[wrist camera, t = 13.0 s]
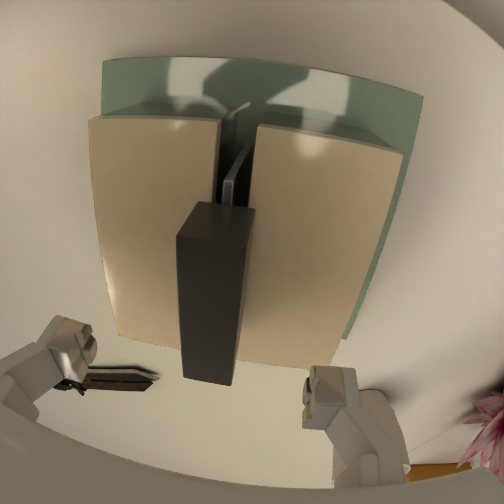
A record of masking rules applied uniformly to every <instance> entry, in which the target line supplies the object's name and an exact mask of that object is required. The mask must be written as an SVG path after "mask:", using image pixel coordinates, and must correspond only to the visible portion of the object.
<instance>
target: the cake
mask: <svg viewBox="0 0 504 504" xmlns="http://www.w3.org/2000/svg"><path fill="white" fill-rule="evenodd" d="M423 98H424V97H423V96H421V95H418V94H415V93H412V92H409V91H406V90H402V89H399V88H396V87H393V86H389V85H386V84H382V83H378V82H375V81H371V80H367V79H363V78H359V77H355V76H350V75H346V74H342V73H337V72H332V71H327V70H322V69H316V68H311V67H305V66H299V65H292V64H285V63H278V62H270V61H261V60H251V59H239V58H224V57H198V56H166V57H141V58H126V59H115V60H105V61H103V68H102V100H101V115H99V116H96V117H93V118H90V119H88V128H89V152H90V167H91V179H92V190H93V199H94V208H95V216H96V224H97V231H98V238H99V244H100V250H101V256H102V262H103V267H104V273H105V278H106V283H107V288H108V292H109V297H110V302H111V306H112V310H113V315H114V319H115V323H116V327H117V331H118V335H119V336H122V337H126V338H130V339H134V340H138V341H142V342H147V343H151V344H155V345H160V346H164V347H169V348H174V349H178V350H181V343H180V329H179V313H178V294H177V270H176V235H177V233H178V232H179V230H180V228H181V227H182V225H183V224H184V222H185V220H186V219H187V217H188V216H189V214H190V213H191V211H192V210H193V208H194V207H195V205H196V203H197V202H198V201H203V202H210V203H218V204H222V196H223V183H224V179H225V177H226V176H227V174H228V172H229V171H230V169H231V167H232V165H233V164H234V162H235V160H236V159H237V157H238V155H239V154H240V152H241V150H242V148H243V147H244V145H245V143H251V144H252V150H251V158H250V167H249V176H248V185H247V194H246V203H245V207H248V208H254V209H255V210H256V213H255V221H254V229H253V237H252V245H251V253H250V261H249V268H248V276H247V284H246V292H245V300H244V308H243V316H242V324H241V332H240V340H239V347H238V352H237V358H236V360H239V361H245V362H252V363H259V364H267V365H274V366H282V367H291V368H300V369H311V367H312V366H313V365H319V366H329V365H330V362H331V360H332V358H333V356H334V354H335V351H336V349H337V347H338V345H339V342H340V340H341V339H347V337H348V334H349V332H350V330H351V328H352V325H353V323H354V321H355V318H356V316H357V314H358V311H359V309H360V306H361V304H362V302H363V299H364V297H365V294H366V292H367V289H368V286H369V284H370V281H371V279H372V276H373V273H374V271H375V268H376V265H377V263H378V260H379V257H380V254H381V252H382V249H383V246H384V243H385V240H386V237H387V234H388V231H389V228H390V225H391V222H392V219H393V216H394V213H395V209H396V206H397V203H398V200H399V196H400V193H401V189H402V186H403V182H404V179H405V175H406V171H407V168H408V164H409V160H410V156H411V152H412V148H413V144H414V140H415V136H416V131H417V127H418V122H419V118H420V113H421V108H422V103H423Z"/></svg>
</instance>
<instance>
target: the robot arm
mask: <svg viewBox="0 0 504 504" xmlns="http://www.w3.org/2000/svg"><path fill="white" fill-rule="evenodd" d="M92 332H93V331H92V328H91V325H88V324H85V323H82V322H79V321H75V320H72V319H69V318H66V317H63V316H60V315H57V316H55V317H54V318H53V319H52V321H51V322H50V323H49V325H48V326H47V328H46V329H45V330H44V332H43V333H42V335H41V336H40V338H39V339H38V341H37V342H36V343H34V342H33V343H31V344H29V345H27V346H25V347H23V348H21V349H19V350H18V351H16V352H14V353H12V354H10V355H8V356H6V357H4V358H3V359H1V360H0V504H504V483H503V482H502V481H501V480H500V479H499V478H498V477H497V476H496V475H495V474H494V473H493V472H492V471H491V470H489V469H488V468H486V467H478V468H474V469H470V470H466V471H462V472H458V473H454V474H450V475H445V476H441V477H436V478H430V479H425V480H419V481H413V482H406V483H405V474H404V466H403V459H402V452H401V450H400V448H399V447H398V446H397V445H396V444H395V443H394V441H393V440H392V439H391V438H390V437H389V435H388V434H387V433H386V432H385V431H384V430H383V428H382V427H381V426H380V425H379V424H378V422H377V421H376V420H375V419H374V418H373V416H372V415H371V414H370V413H369V412H368V411H367V409H366V408H365V407H361V405H360V398H359V390H358V383H357V376H356V370H355V369H354V368H344V367H334V366H319V365H313V366H312V367H311V369H310V377H308V378H306V381H305V384H304V388H303V398H302V402H303V404H304V405H305V408H304V410H303V412H302V428H304V429H317V430H325V432H326V434H327V436H328V437H329V439H330V440H331V442H332V444H333V445H334V447H335V449H336V450H337V452H338V453H339V455H340V457H341V458H342V460H343V461H344V463H345V465H346V466H347V468H346V469H345V470H344V471H342V472H341V473H340V474H339V475H338V476H337V477H335V488H334V489H306V488H282V487H268V486H257V485H247V484H239V483H232V482H225V481H218V480H212V479H207V478H201V477H196V476H191V475H186V474H182V473H177V472H173V471H169V470H165V469H161V468H157V467H153V466H149V465H146V464H142V463H139V462H136V461H132V460H129V459H126V458H123V457H120V456H117V455H114V454H111V453H108V452H105V451H102V450H100V449H97V448H94V447H92V446H89V445H86V444H84V443H81V442H79V441H77V440H74V439H72V438H69V437H67V436H65V435H63V434H60V433H58V432H56V431H54V430H52V429H49V428H47V427H45V426H43V425H41V424H39V423H37V422H36V420H37V418H38V416H39V410H38V409H37V408H36V407H35V405H34V404H33V403H32V402H34V401H35V400H36V399H38V398H39V397H40V396H42V395H43V394H44V393H46V392H47V391H48V390H50V389H51V388H52V387H54V386H55V385H56V384H58V383H59V382H60V381H62V380H63V379H64V377H65V378H67V379H70V380H73V381H76V382H79V383H82V382H83V380H84V378H85V376H86V374H87V372H88V366H87V365H88V364H90V363H92V362H93V360H94V358H95V356H96V352H97V342H96V339H95V338H94V337H93V336H92V335H91V333H92Z"/></svg>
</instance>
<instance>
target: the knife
mask: <svg viewBox="0 0 504 504" xmlns="http://www.w3.org/2000/svg"><path fill="white" fill-rule="evenodd" d="M84 379H86V380H83V382H82V383H79V382H76V381H73V380H65V379H63V380H62V381H60V382H59V383H58V384H56V385H55V386H54V387H53V388H54V389H57V390H58V389H59V390H63V391H64V390H65V391H66V390H71V389H72V388H74V389H76V390H78V392H79V393H80V394H81V395H82V396H84V394H85V393H84V391H86V390H87V389H99V390H116V391H143V392H144V391H145V390H146V389H147V388H148V387H150V386H151V385H152V384H153V383H152V382H151V381H124V380H158V379H160V378H158V377H155V376H152V375H149V374H147V373H144V372H141V371H138V370H136V369H88V372H87V374H86V376H85V378H84ZM91 379H96V380H91ZM103 380H119V381H103ZM69 384H72V385H71V386H69Z"/></svg>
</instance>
